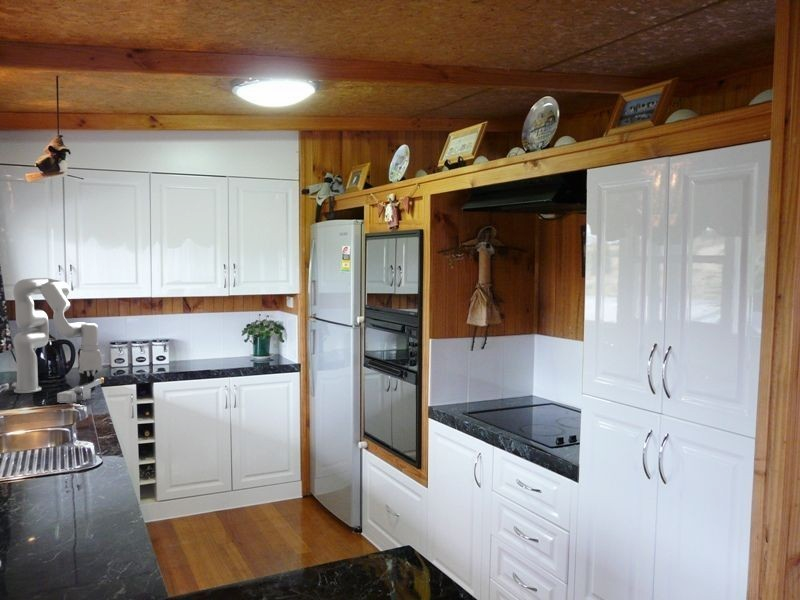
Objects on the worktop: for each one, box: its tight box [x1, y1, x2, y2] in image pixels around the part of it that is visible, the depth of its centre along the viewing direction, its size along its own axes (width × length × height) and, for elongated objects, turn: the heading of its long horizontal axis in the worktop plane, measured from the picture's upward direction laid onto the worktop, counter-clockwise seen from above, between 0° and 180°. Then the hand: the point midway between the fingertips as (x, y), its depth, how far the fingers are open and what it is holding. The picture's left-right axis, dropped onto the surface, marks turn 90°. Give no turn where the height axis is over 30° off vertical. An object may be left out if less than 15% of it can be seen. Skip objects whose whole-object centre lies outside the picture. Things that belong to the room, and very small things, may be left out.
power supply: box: [56, 390, 76, 403], centre depth 318 cm, size 8×6×5 cm
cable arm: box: [74, 377, 105, 393], centre depth 324 cm, size 25×4×3 cm, turn 178°
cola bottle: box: [77, 343, 96, 391], centre depth 345 cm, size 8×8×30 cm
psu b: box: [68, 387, 92, 401], centre depth 326 cm, size 8×6×5 cm
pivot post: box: [76, 393, 90, 406], centre depth 313 cm, size 6×6×6 cm
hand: (90, 383), depth 330 cm, fingers closed
